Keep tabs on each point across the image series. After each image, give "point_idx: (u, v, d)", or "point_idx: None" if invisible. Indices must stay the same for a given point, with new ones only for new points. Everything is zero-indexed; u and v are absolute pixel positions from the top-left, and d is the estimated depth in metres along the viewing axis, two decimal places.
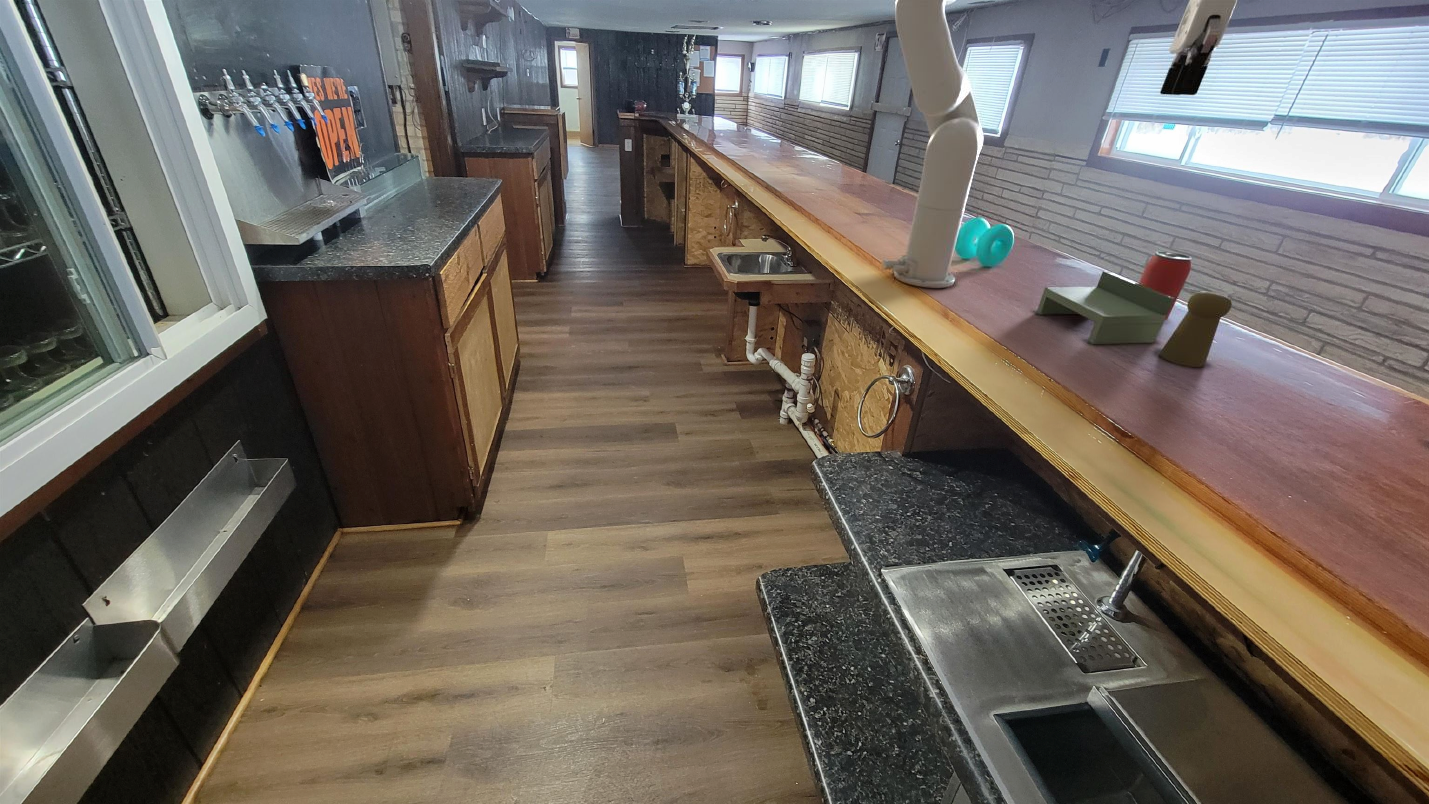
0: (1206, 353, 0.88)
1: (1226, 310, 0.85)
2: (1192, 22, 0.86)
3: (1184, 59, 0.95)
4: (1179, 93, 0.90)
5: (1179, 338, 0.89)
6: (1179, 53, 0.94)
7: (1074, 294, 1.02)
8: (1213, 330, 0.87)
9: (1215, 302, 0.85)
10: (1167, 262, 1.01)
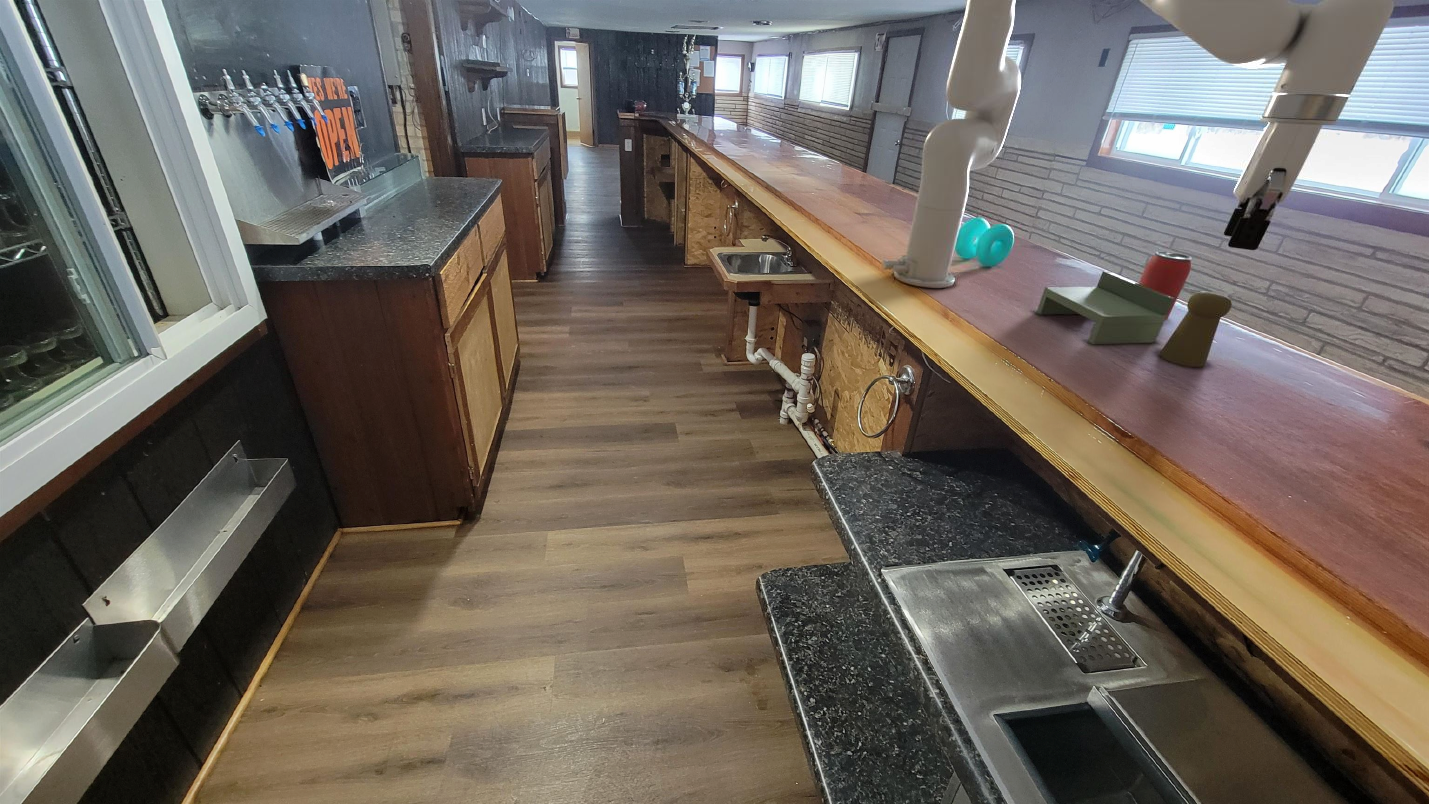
0: (1206, 353, 0.88)
1: (1226, 310, 0.85)
2: (1252, 173, 0.76)
3: None
4: (1236, 246, 0.79)
5: (1179, 338, 0.89)
6: None
7: (1074, 294, 1.02)
8: (1213, 330, 0.87)
9: (1215, 302, 0.85)
10: (1167, 262, 1.01)
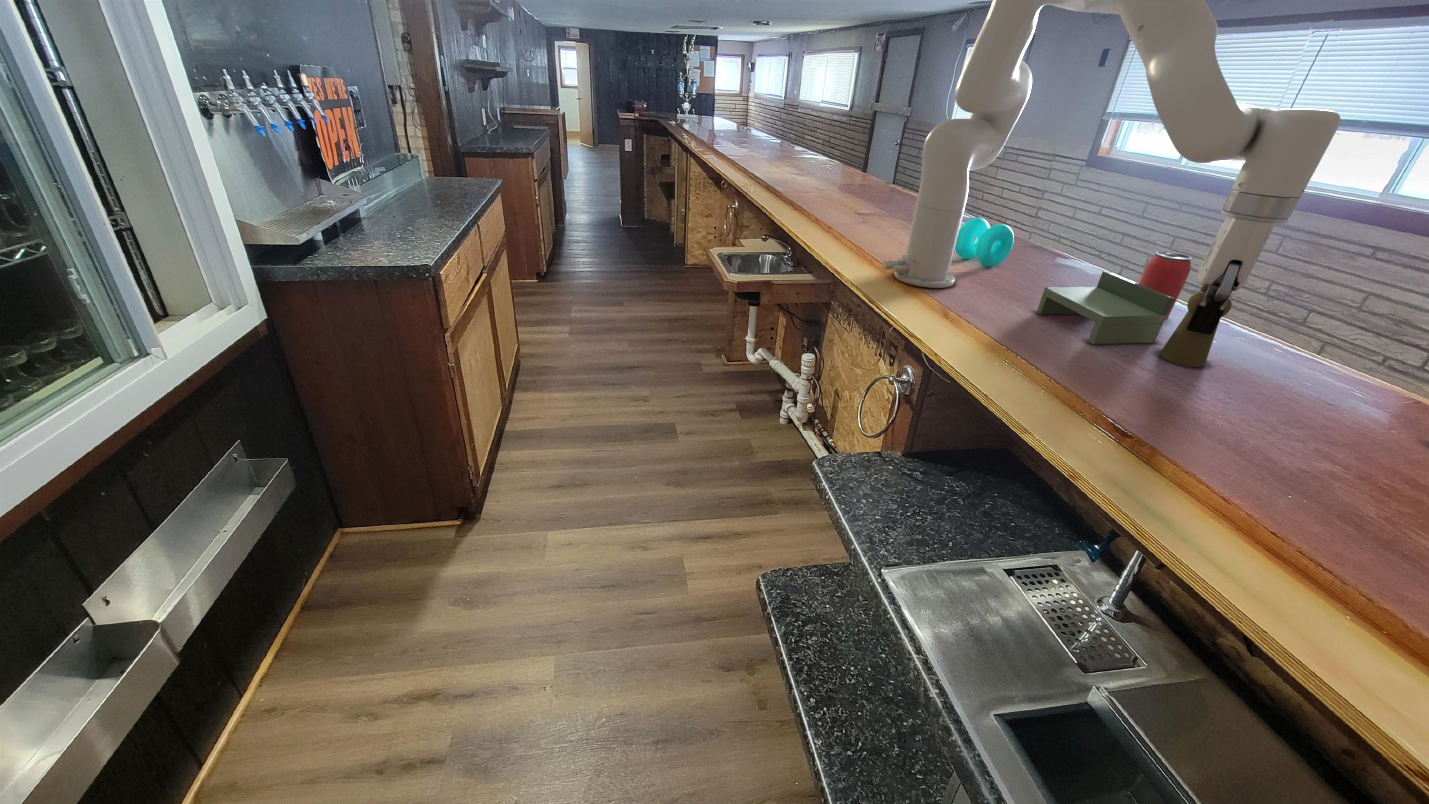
0: (1206, 353, 0.88)
1: (1226, 310, 0.85)
2: (1212, 262, 0.81)
3: None
4: (1193, 330, 0.87)
5: (1179, 338, 0.89)
6: None
7: (1074, 294, 1.02)
8: None
9: None
10: (1167, 262, 1.01)
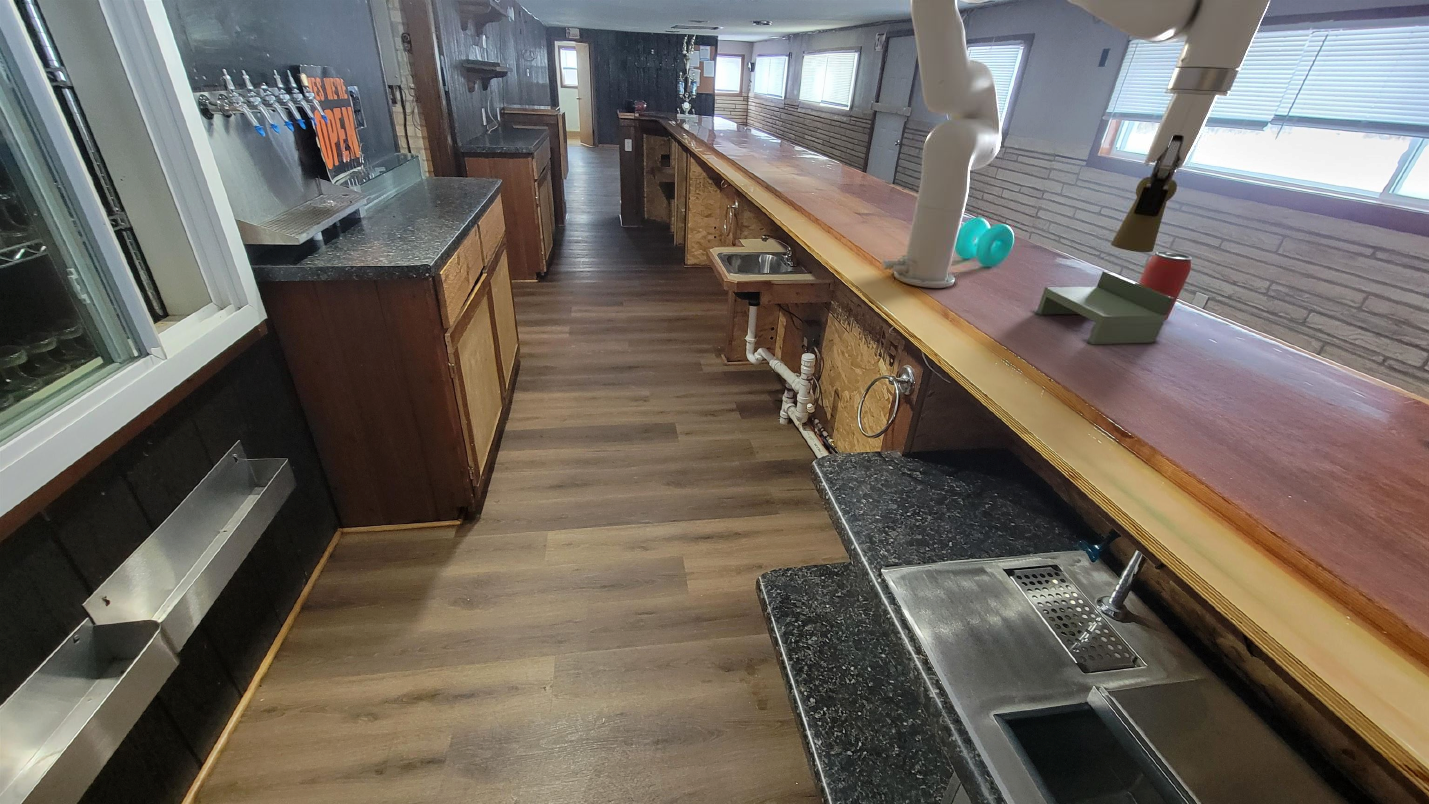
0: (1153, 238, 0.91)
1: (1171, 191, 0.87)
2: (1155, 140, 0.83)
3: None
4: (1140, 213, 0.89)
5: (1128, 224, 0.91)
6: None
7: (1074, 294, 1.02)
8: (1160, 214, 0.89)
9: None
10: (1167, 262, 1.01)
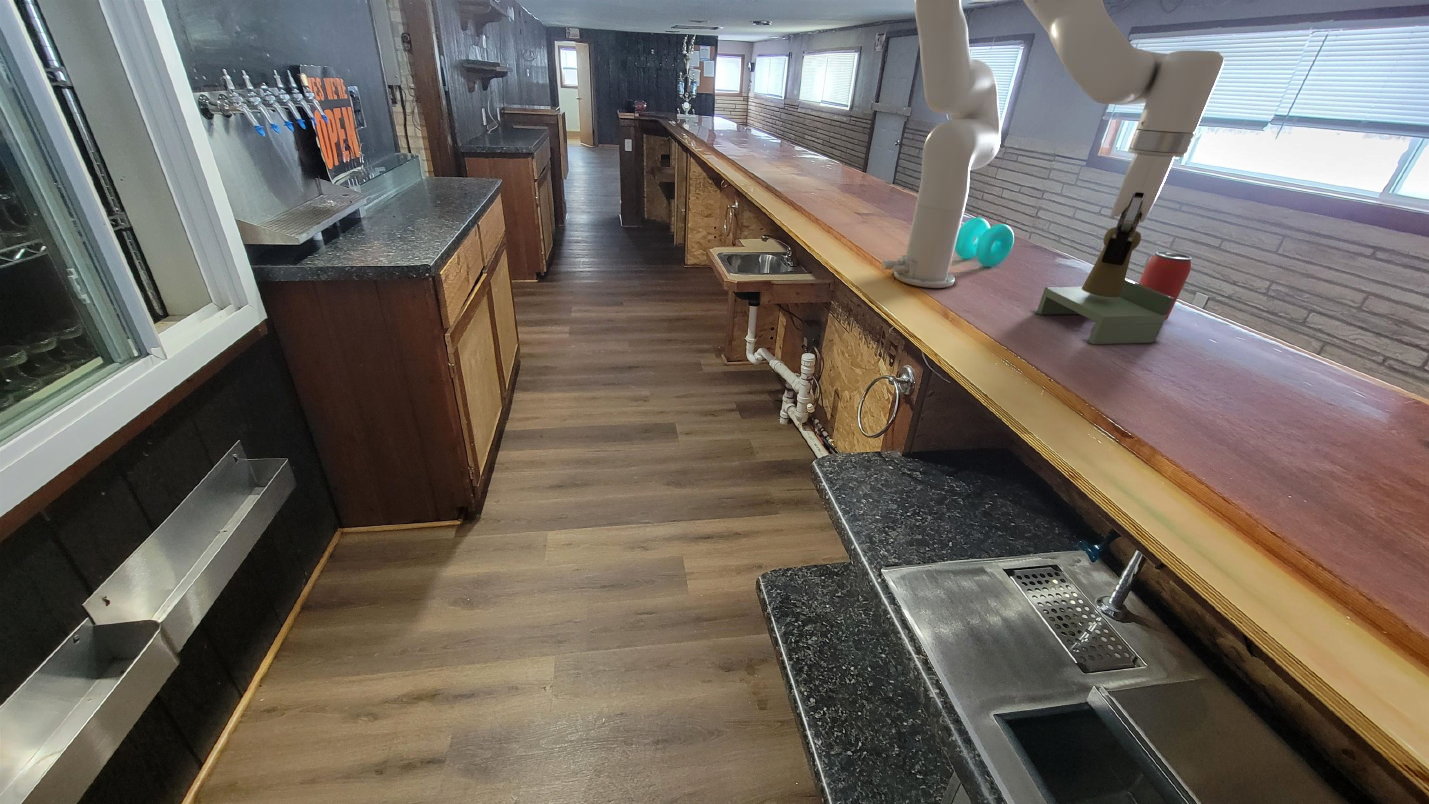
0: (1121, 284, 0.96)
1: (1136, 242, 0.92)
2: (1119, 196, 0.89)
3: None
4: (1107, 262, 0.94)
5: (1096, 271, 0.97)
6: None
7: (1074, 294, 1.02)
8: (1126, 262, 0.94)
9: None
10: (1167, 262, 1.01)
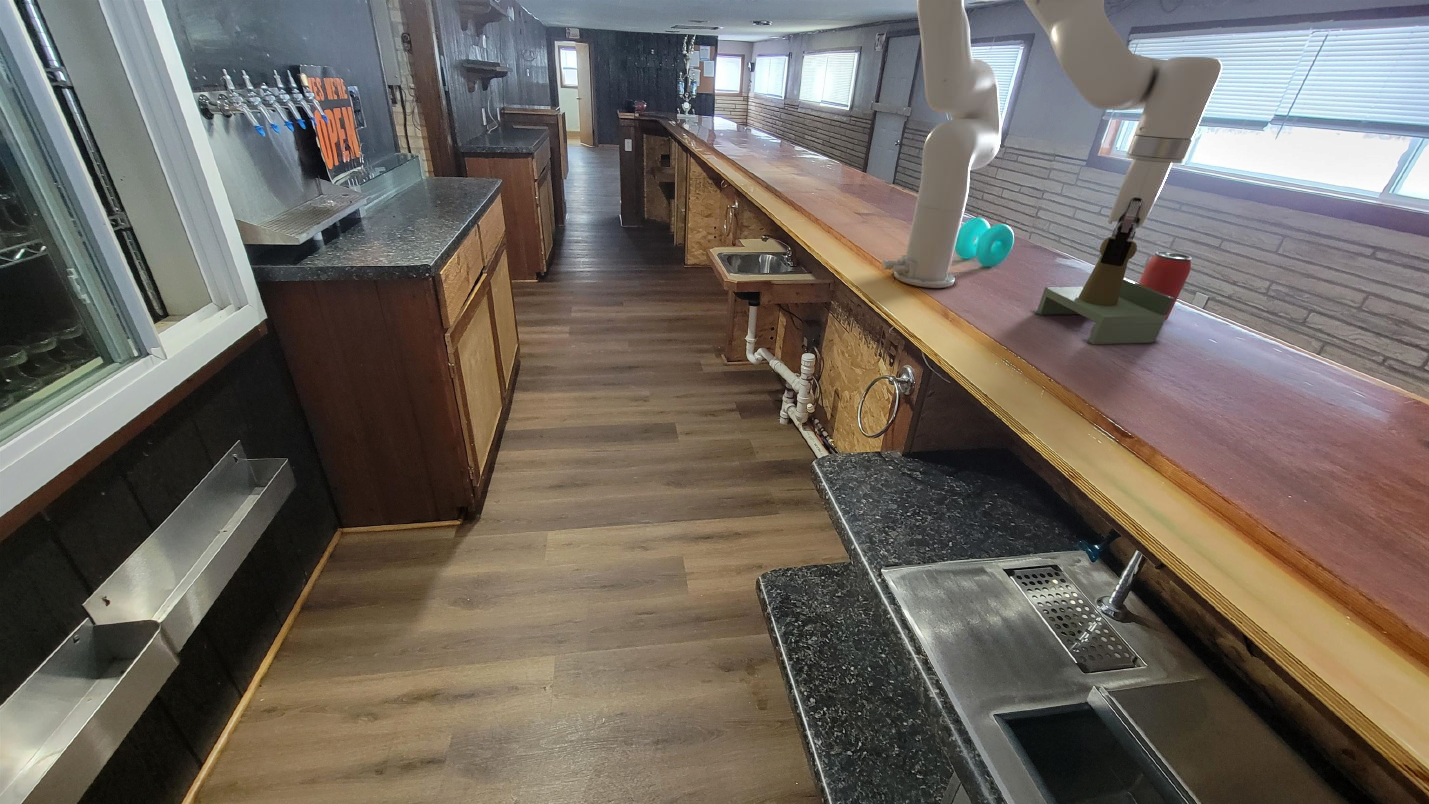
0: (1117, 293, 0.97)
1: (1132, 252, 0.93)
2: (1117, 201, 0.89)
3: None
4: (1106, 263, 0.93)
5: (1093, 280, 0.98)
6: None
7: (1074, 294, 1.02)
8: (1122, 271, 0.95)
9: None
10: (1167, 262, 1.01)
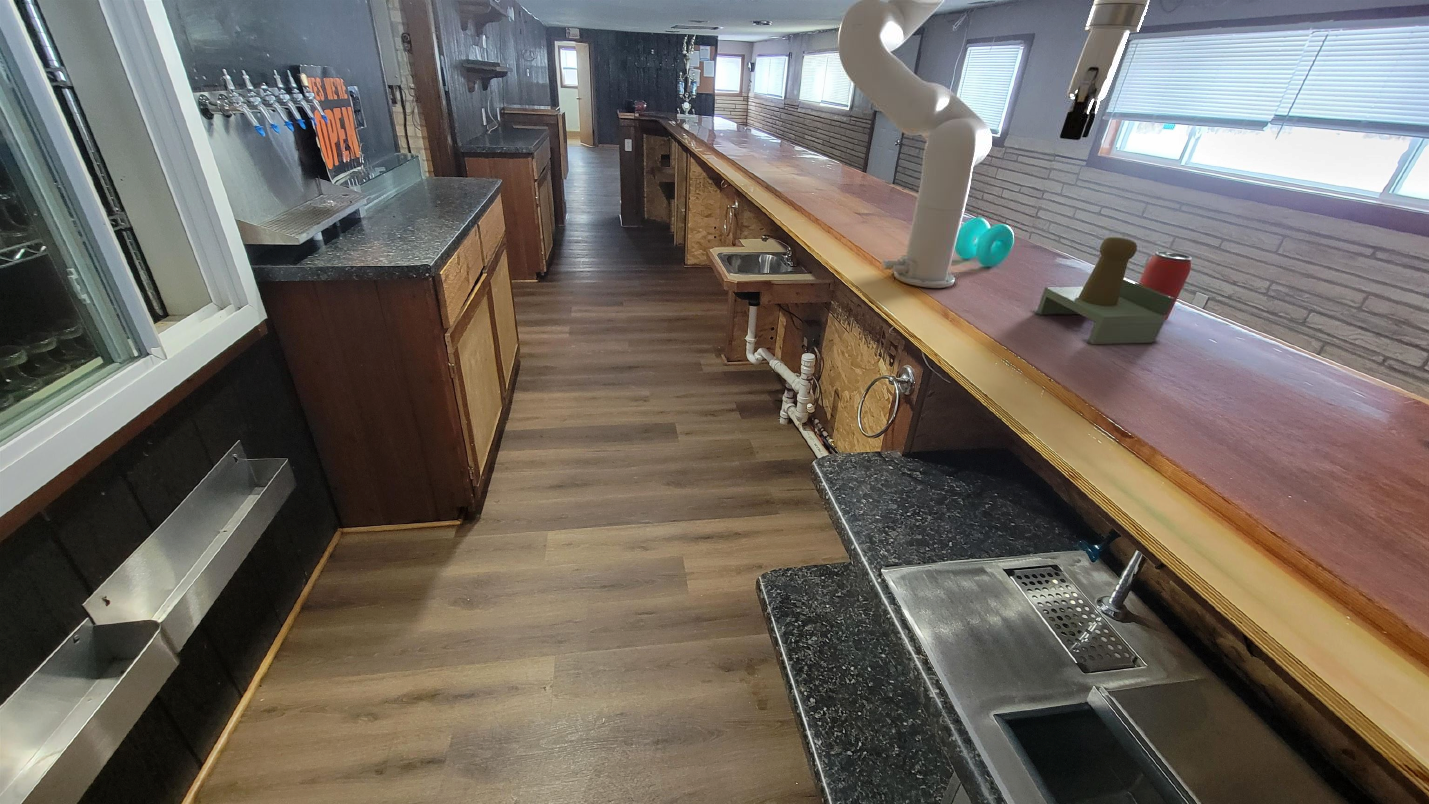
0: (1117, 293, 0.97)
1: (1132, 252, 0.93)
2: (1075, 73, 0.92)
3: None
4: (1065, 138, 0.95)
5: (1093, 280, 0.98)
6: None
7: (1074, 294, 1.02)
8: (1122, 271, 0.95)
9: (1121, 244, 0.93)
10: (1167, 262, 1.01)
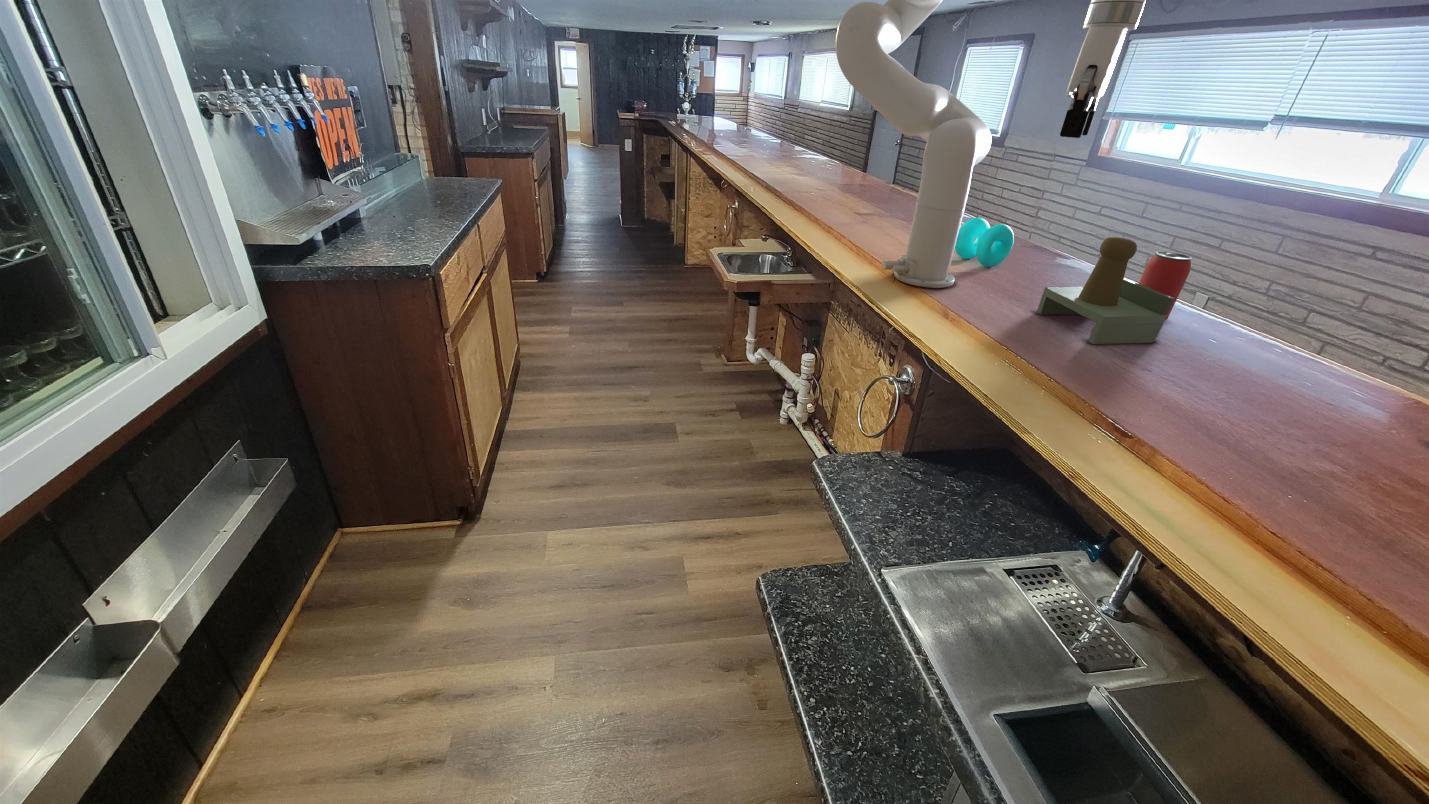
0: (1117, 293, 0.97)
1: (1132, 252, 0.93)
2: (1074, 71, 0.92)
3: None
4: (1065, 136, 0.95)
5: (1093, 280, 0.98)
6: None
7: (1074, 294, 1.02)
8: (1122, 271, 0.95)
9: (1121, 244, 0.93)
10: (1167, 262, 1.01)
